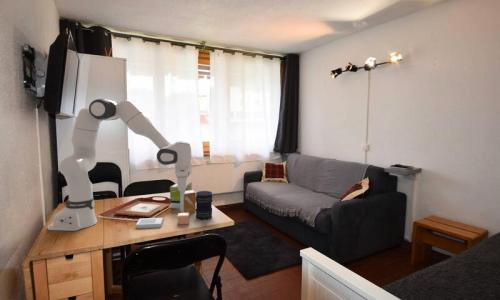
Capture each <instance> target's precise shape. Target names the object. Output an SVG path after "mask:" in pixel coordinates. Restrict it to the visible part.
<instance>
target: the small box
mask: <svg viewBox="0 0 500 300" xmlns="http://www.w3.org/2000/svg"><path fill="white" fill-rule="evenodd" d="M179 211H180V213H189V214H190V213H196V191H195V190H193V189H192V190H189V191H185V193H184V198H181V193H180V208H179Z"/></svg>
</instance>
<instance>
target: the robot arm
mask: <svg viewBox="0 0 500 300" xmlns="http://www.w3.org/2000/svg"><path fill="white" fill-rule="evenodd" d="M118 119H120V120H121V121H122V122H123V123H124V124H125V125H126V126H127V127H128V129H129V130H130V131H131V132H133V133H134V134H135V135H139V136H142V137H145V138H147V139H149V140H150V141H151V142H152V143H153V144H154V145H155V146H156V147H157V148H158V151H157V153H156V160H157V161H158V163H159V164H160V165H163V166H164V165H165V166H167V165H168V166H169V165H173V164H174V174H175V177H176V178H177V179H176V181H177V182H176V183H178V190H179V191H180V193H181V198H184V193H185V190H186V186H187V182H188V178H189V176H190V175H192V161H191V160H192V147H191V144H190V143H189V142H187V141H179V140H177V141H176V142H174V143H170V142H169V141H168V140H167V139H166V138H165V137H164V136H163V135H162V134H161V133H160V132H159V130H158V129H157V128H156V127H155V126H154V125H153V123H152V122H151V120H150V119H149V118H148V117H147V115H146V113H145V112H144V111H143V110H142V109H141V108H140V106H138V105H137V104H135V103H134V102H133V101H132V100H130V99H123V100H121V101H120V102H118V101H115V100H112V99H108V98H107V99H105V98H104V99H103V98H97V99H96V98H95V99H94V100H93V101H91V102H90V103H89V106H88V107H83V108H81V109H79V111H78V114H77V116H76V118H75V123H74V126H73V131H72V137H71V143H72V145H73V146H72V147H73V154H72V155H68V156H66V157H65V158H64V159H62V160H61V161H60V163H59V164H58V170H59V172H60V174H61V175H63V176H64V179H65V181H66V184H67V189H68V190H67V191H68V198H67V200H66V201H64V203H63V205H64V208H62V209H60V211H58V212H57V213H56V214H55V215H54V216H53V219H52V223H50V224H49V225H48V226H47V230H48V231H71V232H72V231H73V232H75V231H79V230H82V229H85V228H89V227H92V226H94V225H95V224H97V223H98V219H97V217H96V214H95V212H96V211H95V198H94V196H93V195H94V193H93V190H94V189H93V183H92V182H91V180H90V178H89V177H90V176H89V173H88V172H90V171H91V170H93V169H94V168H95V167H96V165H97V161H98V159H97V157H96V145H97V144H96V143H97V139H98V134H99V129H100V124H101V123H102V122H103V121H114V120H118Z"/></svg>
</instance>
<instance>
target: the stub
mask: <svg viewBox="0 0 500 300" xmlns="http://www.w3.org/2000/svg"><path fill="white" fill-rule="evenodd" d="M189 222H190V213H182V212H178V213H177V225H189Z"/></svg>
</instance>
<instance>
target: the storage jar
mask: <svg viewBox="0 0 500 300" xmlns="http://www.w3.org/2000/svg"><path fill="white" fill-rule="evenodd" d="M195 192H196V191H195ZM212 204H213V192H212V191H209V190H200V191H197V192H196V212H195V219H196V220H199V221H208V220H211V219H212V218H213V207H212V206H213V205H212Z"/></svg>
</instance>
